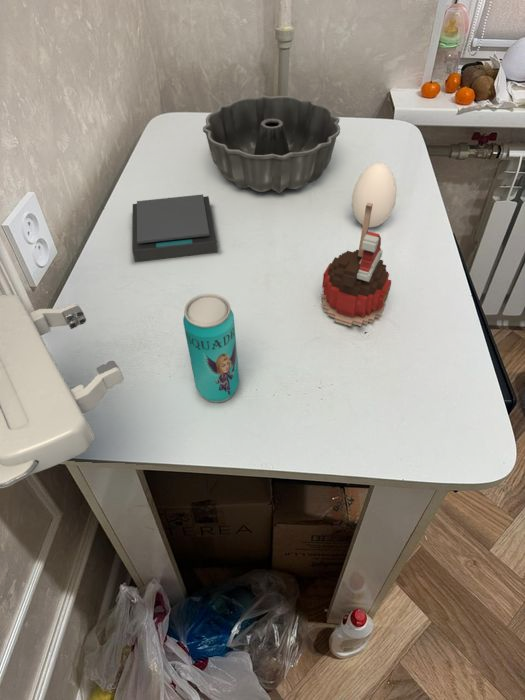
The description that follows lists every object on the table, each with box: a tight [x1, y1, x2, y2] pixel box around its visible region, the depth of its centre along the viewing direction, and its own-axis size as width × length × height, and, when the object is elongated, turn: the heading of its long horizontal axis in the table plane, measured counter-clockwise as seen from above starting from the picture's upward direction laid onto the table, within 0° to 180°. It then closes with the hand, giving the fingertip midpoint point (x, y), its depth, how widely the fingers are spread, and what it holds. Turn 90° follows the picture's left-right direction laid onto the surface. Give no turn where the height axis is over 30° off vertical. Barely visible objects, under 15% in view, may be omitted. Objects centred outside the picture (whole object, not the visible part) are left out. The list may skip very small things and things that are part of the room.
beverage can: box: [182, 293, 240, 404], centre depth 61 cm, size 6×6×15 cm
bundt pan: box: [202, 95, 341, 194], centre depth 100 cm, size 26×26×10 cm
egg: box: [351, 162, 397, 228], centre depth 86 cm, size 7×7×12 cm
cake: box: [320, 203, 392, 327], centre depth 70 cm, size 11×9×18 cm
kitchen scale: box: [131, 194, 218, 263], centre depth 89 cm, size 14×14×4 cm
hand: (100, 339), depth 49 cm, fingers open, 8 cm apart
